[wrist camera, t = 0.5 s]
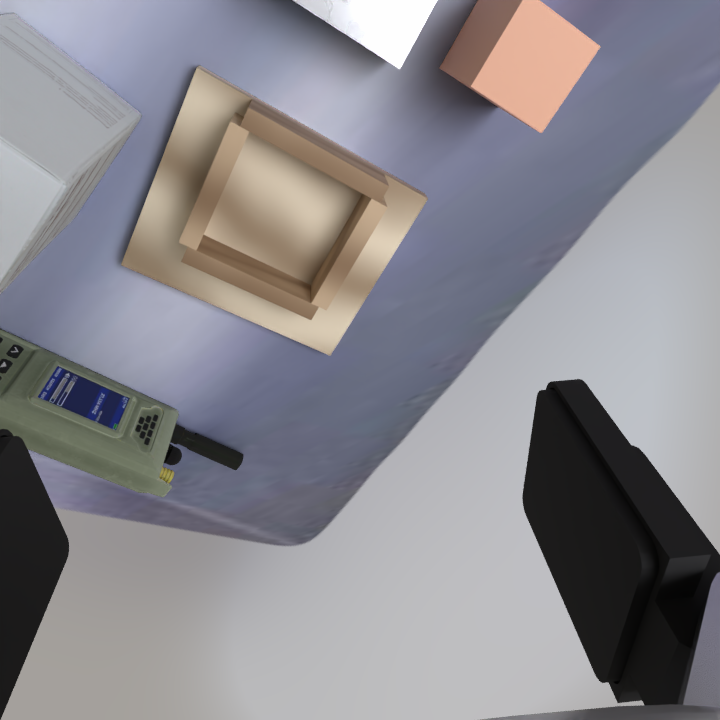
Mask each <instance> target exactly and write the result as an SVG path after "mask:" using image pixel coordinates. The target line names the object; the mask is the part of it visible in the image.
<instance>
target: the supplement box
mask: <svg viewBox="0 0 720 720" xmlns="http://www.w3.org/2000/svg"><path fill="white" fill-rule="evenodd" d="M141 117H142V114H141V113H140V112H138V111H137V110H136V109H135V108H133V107H132V106H131V105H130V104H128V103H127V102H126V101H125V100H124V99H122V98H121V97H120V96H119V95H117V94H116V93H115V92H114V91H112V90H111V89H110V88H109V87H107V86H106V85H105V84H104V83H102V82H101V81H100V80H98V79H97V78H96V77H95V76H93V75H92V74H91V73H90V72H88V71H87V70H86V69H84V68H83V67H82V66H81V65H79V64H78V63H77V62H76V61H74V60H73V59H72V58H71V57H69V56H68V55H67V54H65V53H64V52H63V51H62V50H60V49H59V48H58V47H57V46H55V45H54V44H53V43H51V42H50V41H49V40H48V39H46V38H45V37H44V36H43V35H41V34H40V33H39V32H37V31H36V30H35V29H34V28H32V27H31V26H30V25H29V24H27V23H26V22H25V21H23V20H22V19H21V18H20V17H19V16H17V15H16V14H15V13H10V14H1V15H0V294H1V293H2V292H3V291H4V290H5V289H6V288H7V287H8V286H9V285H10V284H11V283H12V282H13V281H14V279H15V278H16V277H17V276H18V275H19V274H20V273H21V272H22V271H23V270H24V269H25V268H26V267H27V265H28V264H29V263H30V262H31V261H32V260H33V259H34V258H35V257H36V256H37V255H38V254H39V253H40V252H41V251H42V250H43V249H44V248H45V247H46V246H47V245H48V244H49V243H50V242H51V241H52V240H53V239H54V238H55V237H56V236H57V235H58V234H59V233H60V232H61V231H62V230H63V229H64V228H65V227H66V226H67V225H68V224H69V223H70V222H71V221H72V220H73V219H74V218H75V217H76V216H77V214H78V213H79V211H80V210H81V208H82V206H83V205H84V203H85V202H86V201H87V199H88V198H89V196H90V195H91V193H92V192H93V190H94V189H95V187H96V186H97V184H98V183H99V181H100V180H101V178H102V177H103V175H104V174H105V172H106V171H107V169H108V168H109V166H110V165H111V163H112V162H113V160H114V159H115V157H116V156H117V154H118V153H119V151H120V150H121V148H122V147H123V145H124V144H125V142H126V141H127V139H128V138H129V136H130V135H131V133H132V132H133V130H134V129H135V127H136V125H137V124H138V122H139V121H140V119H141Z"/></svg>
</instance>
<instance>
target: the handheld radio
mask: <svg viewBox="0 0 720 720" xmlns="http://www.w3.org/2000/svg"><path fill="white" fill-rule="evenodd" d="M178 415H179V414H178V411H177V410H176V409H174V408H172V407H170V406H167V405H165V404H163V403H161V402H159V401H157V400H154V399H152V398H150V397H148V396H146V395H143V394H141V393H139V392H137V391H135V390H133V389H130V388H128V387H126V386H124V385H122V384H120V383H117V382H115V381H113V380H111V379H109V378H106V377H104V376H102V375H100V374H98V373H96V372H93V371H91V370H89V369H87V368H85V367H82V366H80V365H78V364H76V363H74V362H72V361H69V360H67V359H65V358H63V357H61V356H59V355H56V354H54V353H52V352H50V351H48V350H45V349H43V348H41V347H39V346H37V345H35V344H32V343H30V342H28V341H26V340H24V339H21V338H19V337H17V336H15V335H13V334H11V333H8V332H6V331H4V330H2V329H0V429H7V430H9V431H10V432H11V433H12V434H13V436H19V437H20V438H22V440H23V441H24V443H25V445H26V447H27V449H29V450H32V451H34V452H37V453H39V454H42V455H44V456H47V457H49V458H52V459H55V460H57V461H60V462H62V463H65V464H67V465H70V466H72V467H75V468H78V469H80V470H83V471H85V472H88V473H90V474H93V475H95V476H98V477H101V478H103V479H106V480H108V481H111V482H113V483H116V484H118V485H121V486H123V487H126V488H129V489H131V490H134V491H136V492H139V493H150V494H154V495H157V496H161V497H164V496H165V495H166V494H167V493H168V492H169V490H170V489H171V488H172V487H171V485H169V483H170V482H171V480H172V478H173V476H174V472H173V471H172V470H171V471H170V469H167V468H163V463H166V464H169V465H175V464H177V463H178V462H179V461H180V460H181V457H182V453H181V451H180V449H178V448H176V447H174V446H173V445H171V444H170V442H172V443H174V444H180V445H182V446H185V447H187V448H188V449H189V450H191V451H194V452H196V453H198V454H200V455H202V456H205V457H207V458H209V459H211V460H214V461H216V462H218V463H220V464H223V465H225V466H227V467H229V468H232V469H234V470H237V469H238V467H239V466H240V465H241V463H242V460H243V454H241V453H239V452H237V451H235V450H232V449H230V448H228V447H226V446H224V445H221V444H219V443H217V442H215V441H212V440H210V439H208V438H206V437H203V436H201V435H199V434H197V433H195V434H193V433H191V432H189V431H186V430H185V428H183V427H181V426H179V425H177V424H176V421H177V418H178ZM170 446H171V447H170ZM168 449H169V450H168ZM167 451H168V452H167Z"/></svg>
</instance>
